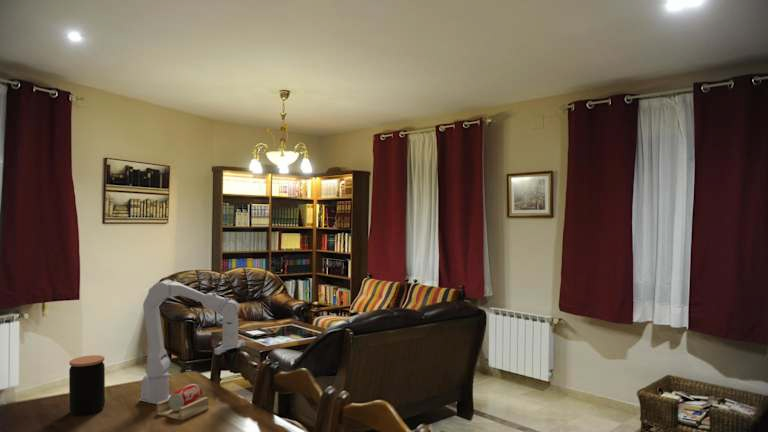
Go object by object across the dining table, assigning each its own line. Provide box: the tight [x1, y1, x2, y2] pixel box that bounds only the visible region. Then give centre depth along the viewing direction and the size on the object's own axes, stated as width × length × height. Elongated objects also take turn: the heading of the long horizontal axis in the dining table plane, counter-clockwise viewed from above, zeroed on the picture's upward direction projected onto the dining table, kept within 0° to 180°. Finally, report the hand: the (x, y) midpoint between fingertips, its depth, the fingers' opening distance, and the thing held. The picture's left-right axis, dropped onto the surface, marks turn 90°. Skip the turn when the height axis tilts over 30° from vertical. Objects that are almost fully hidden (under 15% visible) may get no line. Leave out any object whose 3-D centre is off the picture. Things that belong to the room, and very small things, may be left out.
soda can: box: [168, 383, 203, 411], centre depth 179 cm, size 7×7×12 cm
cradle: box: [156, 396, 209, 421], centre depth 177 cm, size 12×12×4 cm
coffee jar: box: [68, 354, 106, 417], centre depth 178 cm, size 11×11×18 cm
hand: (230, 368), depth 191 cm, fingers closed
